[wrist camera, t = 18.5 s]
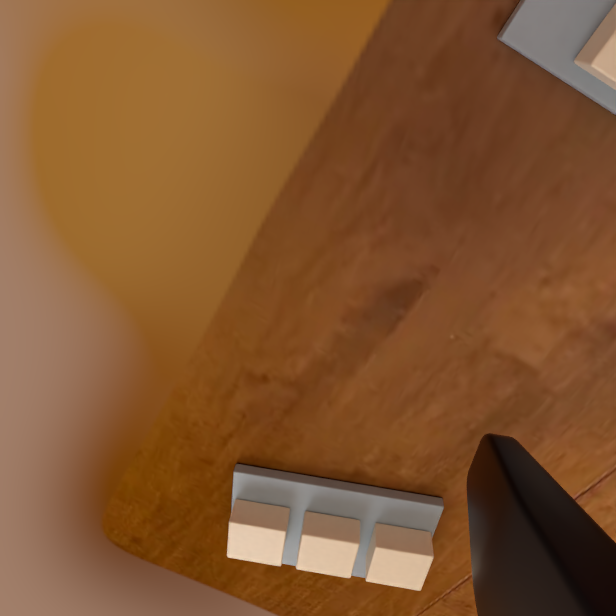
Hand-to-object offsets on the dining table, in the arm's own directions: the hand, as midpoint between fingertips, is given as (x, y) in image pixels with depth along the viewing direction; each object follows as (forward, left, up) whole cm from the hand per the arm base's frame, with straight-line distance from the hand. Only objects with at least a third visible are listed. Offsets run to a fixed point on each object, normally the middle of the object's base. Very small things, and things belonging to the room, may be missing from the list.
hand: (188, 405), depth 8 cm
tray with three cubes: (+4, -19, -13) cm, 23 cm away
